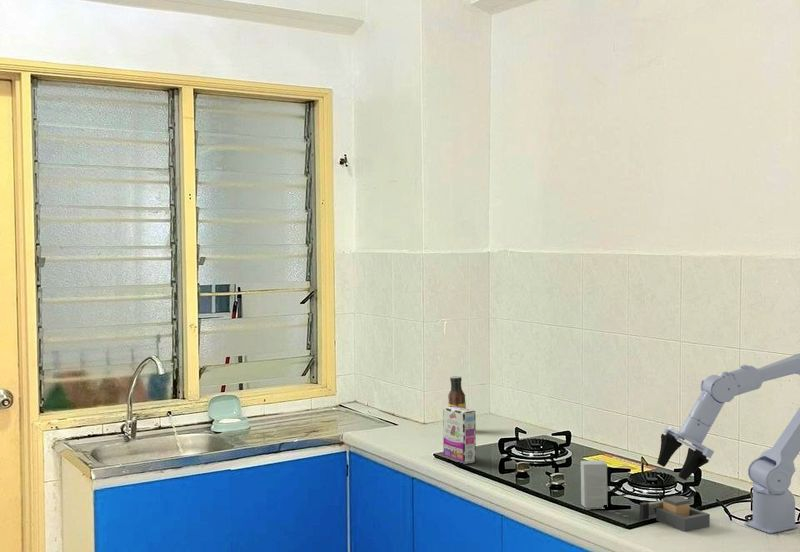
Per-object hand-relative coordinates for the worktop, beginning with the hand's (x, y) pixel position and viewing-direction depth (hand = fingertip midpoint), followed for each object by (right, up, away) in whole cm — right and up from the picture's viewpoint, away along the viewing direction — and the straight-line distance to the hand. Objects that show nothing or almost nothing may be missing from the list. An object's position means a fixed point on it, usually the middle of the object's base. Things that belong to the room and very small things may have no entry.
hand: (671, 471), depth 212 cm
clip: (+1, -13, +11) cm, 17 cm away
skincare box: (-14, -14, +20) cm, 28 cm away
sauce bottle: (-43, -10, +111) cm, 120 cm away
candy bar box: (-45, -12, +70) cm, 84 cm away
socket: (+5, -14, +8) cm, 17 cm away
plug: (+4, -14, +9) cm, 17 cm away
